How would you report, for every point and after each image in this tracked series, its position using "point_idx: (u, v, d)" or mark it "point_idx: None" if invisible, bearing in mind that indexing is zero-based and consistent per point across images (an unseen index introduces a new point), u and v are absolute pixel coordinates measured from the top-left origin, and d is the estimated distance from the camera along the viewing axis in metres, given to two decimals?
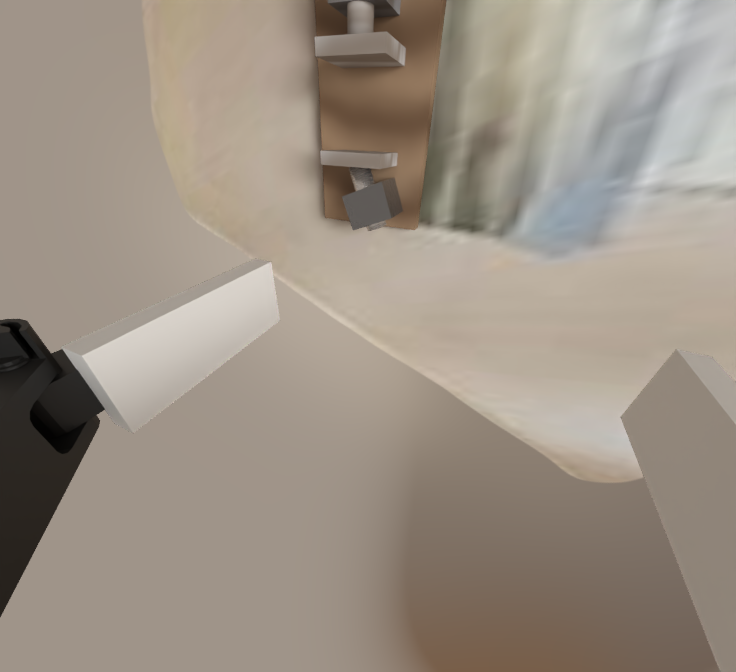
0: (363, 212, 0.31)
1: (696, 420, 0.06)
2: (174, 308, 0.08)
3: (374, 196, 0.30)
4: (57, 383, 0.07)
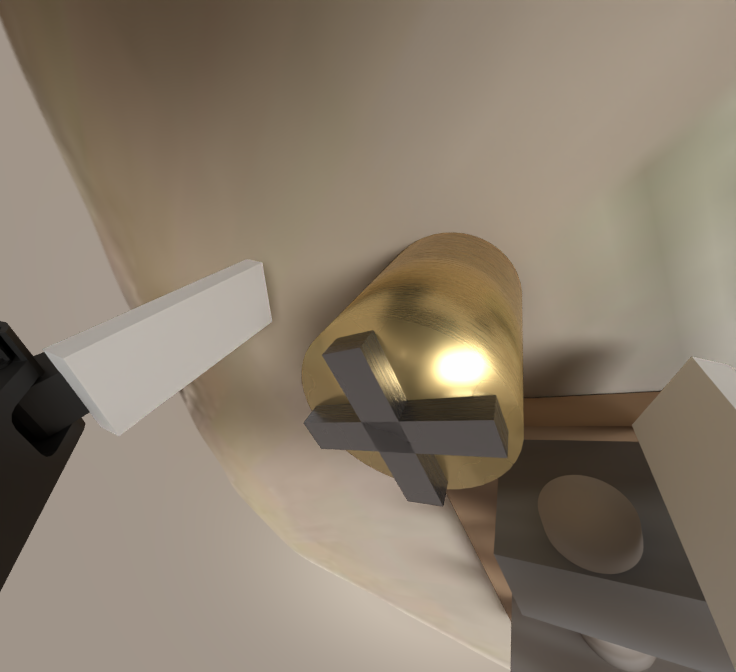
0: None
1: (715, 432, 0.06)
2: (161, 309, 0.08)
3: None
4: (39, 385, 0.07)
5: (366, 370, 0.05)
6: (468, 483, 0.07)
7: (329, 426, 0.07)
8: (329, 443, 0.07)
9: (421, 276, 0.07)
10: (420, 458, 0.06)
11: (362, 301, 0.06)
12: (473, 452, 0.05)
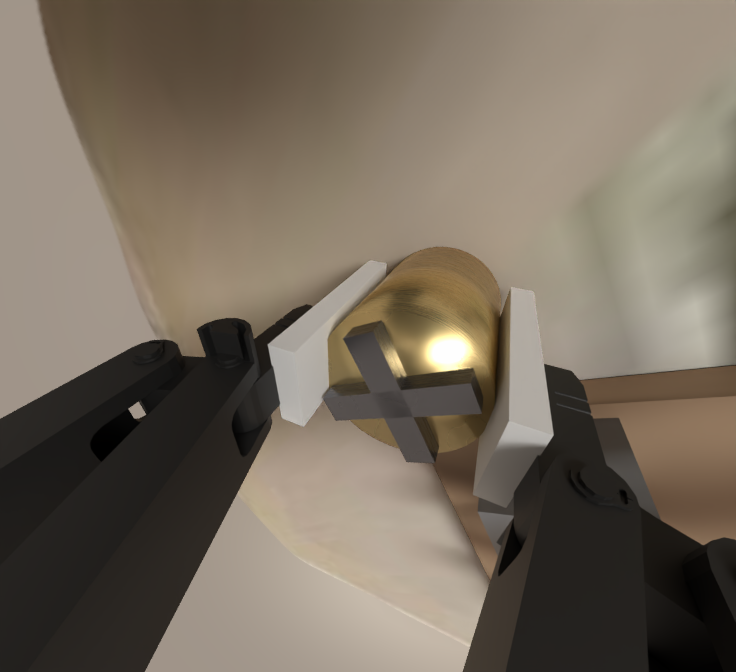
0: None
1: (504, 328, 0.09)
2: (336, 308, 0.09)
3: None
4: (255, 387, 0.07)
5: (377, 349, 0.07)
6: (454, 445, 0.08)
7: (344, 399, 0.08)
8: (343, 415, 0.09)
9: (417, 281, 0.09)
10: (417, 422, 0.08)
11: (372, 300, 0.08)
12: (457, 412, 0.07)
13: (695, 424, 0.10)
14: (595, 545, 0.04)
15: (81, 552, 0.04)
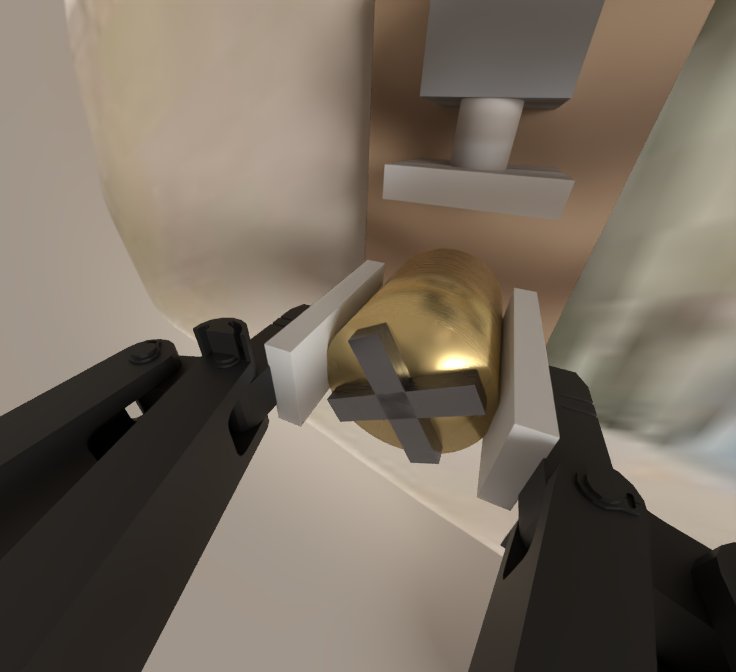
0: None
1: (507, 329, 0.09)
2: (333, 308, 0.09)
3: None
4: (252, 386, 0.07)
5: (381, 351, 0.07)
6: (458, 446, 0.09)
7: (348, 401, 0.09)
8: (347, 416, 0.09)
9: (421, 283, 0.09)
10: (421, 423, 0.08)
11: (375, 302, 0.08)
12: (461, 413, 0.07)
13: None
14: (602, 550, 0.04)
15: (78, 550, 0.04)
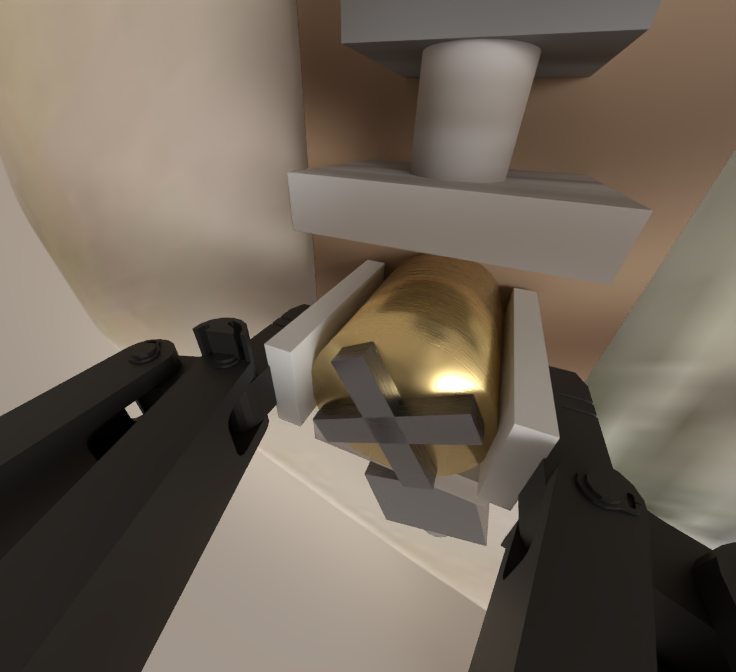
0: (415, 511, 0.13)
1: (507, 329, 0.09)
2: (333, 307, 0.09)
3: (448, 505, 0.12)
4: (252, 386, 0.07)
5: (368, 374, 0.06)
6: (454, 470, 0.08)
7: (335, 422, 0.08)
8: (335, 437, 0.08)
9: (413, 293, 0.08)
10: (413, 448, 0.07)
11: (363, 315, 0.08)
12: (456, 442, 0.06)
13: None
14: (602, 550, 0.04)
15: (77, 550, 0.04)
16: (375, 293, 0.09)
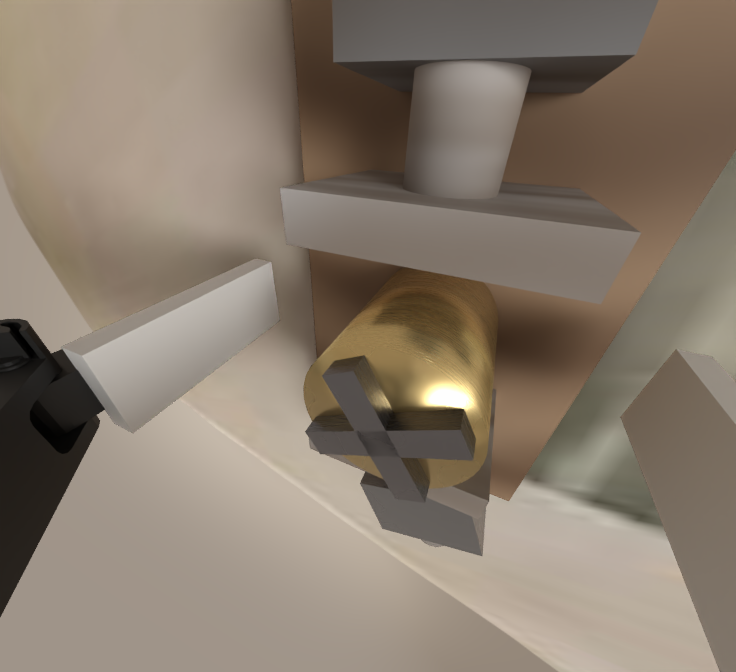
0: (410, 521, 0.13)
1: (696, 420, 0.06)
2: (174, 308, 0.08)
3: (443, 515, 0.12)
4: (57, 383, 0.07)
5: (358, 389, 0.06)
6: (446, 483, 0.08)
7: (327, 434, 0.08)
8: (327, 449, 0.08)
9: (405, 306, 0.08)
10: (404, 461, 0.07)
11: (355, 328, 0.08)
12: (447, 456, 0.06)
13: None
14: None
15: None
16: (368, 304, 0.09)
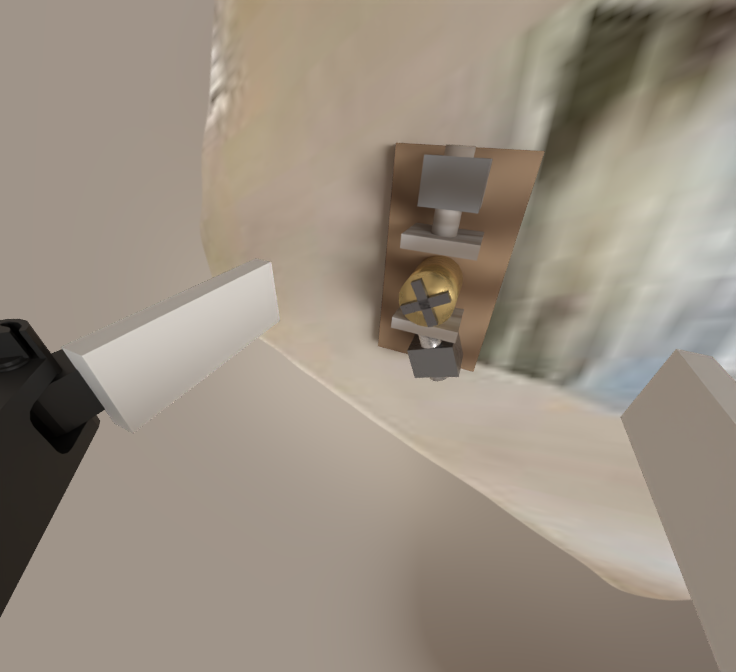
0: (428, 366, 0.31)
1: (696, 419, 0.06)
2: (174, 308, 0.08)
3: (442, 357, 0.30)
4: (57, 383, 0.07)
5: (420, 285, 0.25)
6: (444, 320, 0.26)
7: (407, 305, 0.26)
8: (406, 312, 0.26)
9: (431, 267, 0.26)
10: (432, 310, 0.25)
11: (417, 272, 0.26)
12: (444, 303, 0.25)
13: (517, 166, 0.23)
14: None
15: None
16: (417, 268, 0.28)
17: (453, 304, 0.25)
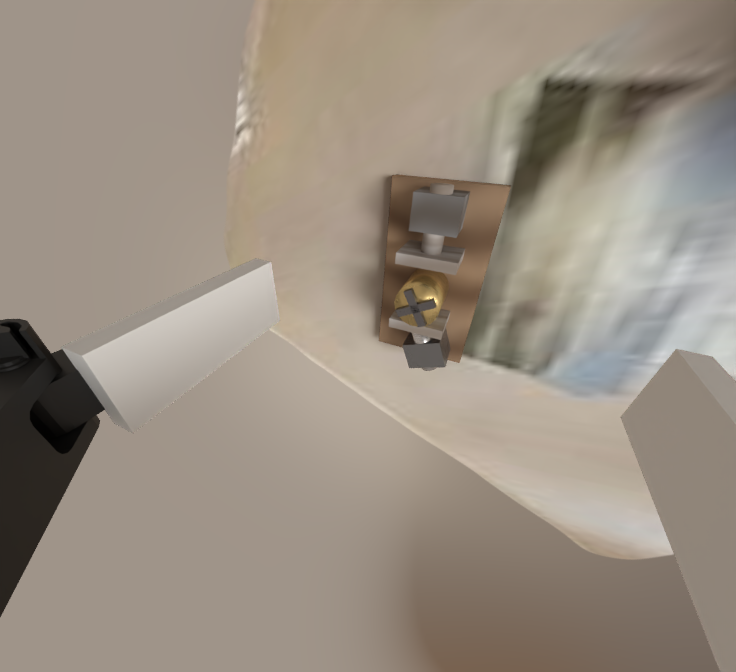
0: (420, 358, 0.37)
1: (696, 420, 0.06)
2: (174, 308, 0.08)
3: (431, 350, 0.36)
4: (57, 383, 0.07)
5: (411, 294, 0.31)
6: (431, 321, 0.32)
7: (401, 309, 0.32)
8: (400, 315, 0.32)
9: (421, 278, 0.32)
10: (421, 313, 0.31)
11: (409, 283, 0.32)
12: (430, 308, 0.31)
13: (489, 198, 0.29)
14: None
15: None
16: (410, 278, 0.33)
17: (438, 309, 0.31)
